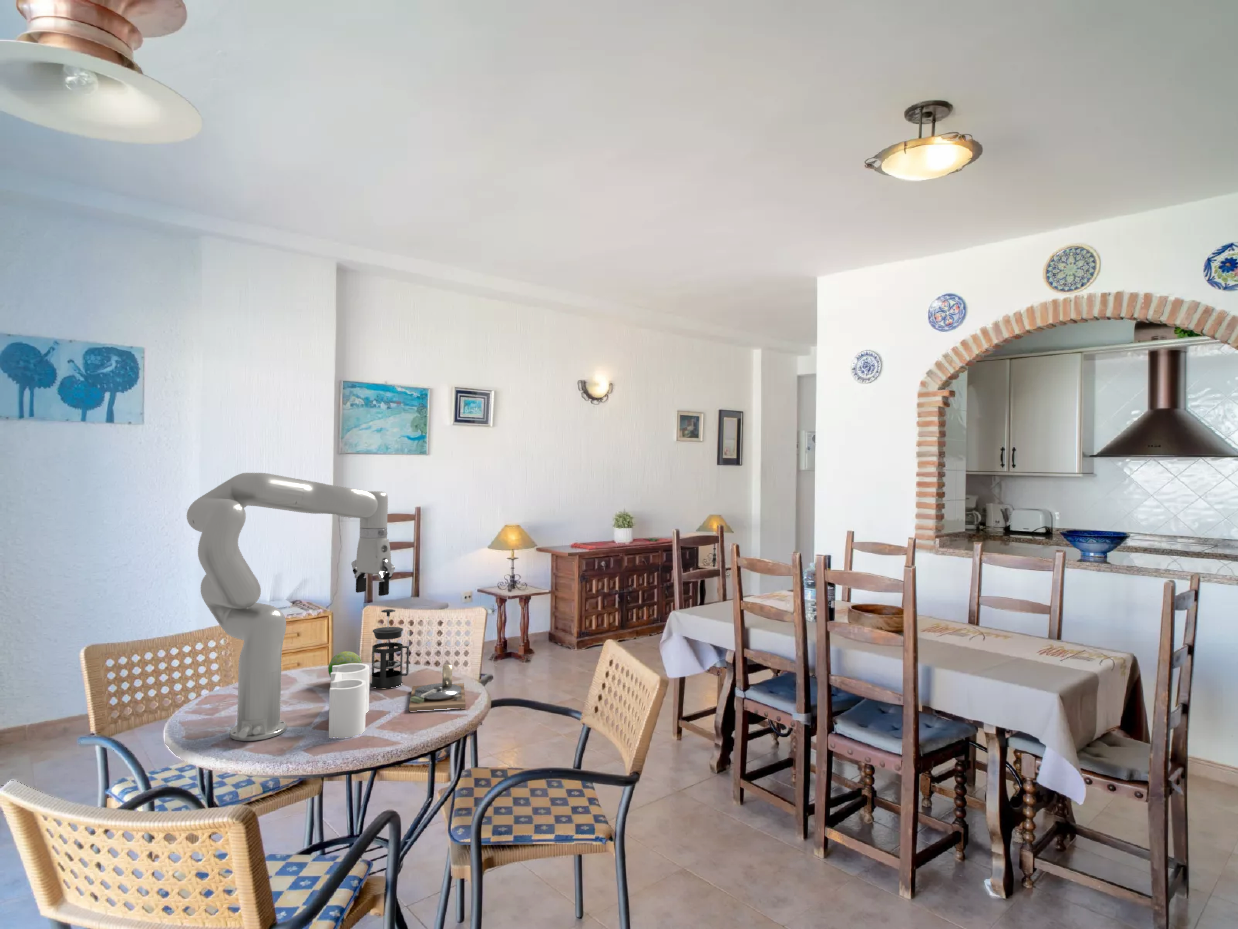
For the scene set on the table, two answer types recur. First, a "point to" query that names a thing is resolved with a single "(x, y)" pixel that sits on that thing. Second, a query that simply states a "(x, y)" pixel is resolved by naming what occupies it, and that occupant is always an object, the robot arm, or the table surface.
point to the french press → (388, 657)
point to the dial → (440, 687)
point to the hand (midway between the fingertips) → (372, 593)
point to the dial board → (437, 701)
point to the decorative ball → (343, 659)
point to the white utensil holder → (348, 699)
